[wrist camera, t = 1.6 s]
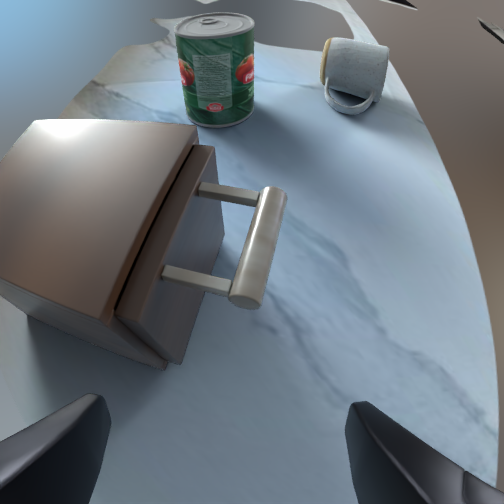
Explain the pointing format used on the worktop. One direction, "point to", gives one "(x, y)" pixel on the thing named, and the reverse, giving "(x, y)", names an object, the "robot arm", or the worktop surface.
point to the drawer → (196, 256)
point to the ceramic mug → (353, 71)
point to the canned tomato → (217, 68)
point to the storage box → (84, 220)
